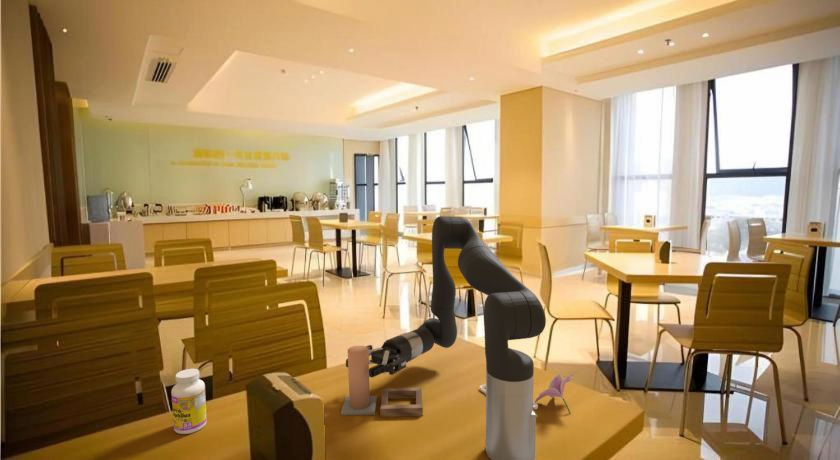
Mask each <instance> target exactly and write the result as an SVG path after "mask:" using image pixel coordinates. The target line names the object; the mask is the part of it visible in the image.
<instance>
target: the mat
mask: <svg viewBox="0 0 840 460" xmlns="http://www.w3.org/2000/svg"><path fill="white" fill-rule="evenodd" d="M377 401H378V395H370V405H369V406H368V407H366V408H363V409H353V408H351V407H350V402H349V395H348V396H347V395H346V396H345V398H344V401H343V405H342V407H341V411H340V416H364V415H365V416H369V415H375V414H376V409H377Z"/></svg>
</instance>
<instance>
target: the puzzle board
mask: <svg viewBox="0 0 840 460" xmlns="http://www.w3.org/2000/svg"><path fill="white" fill-rule="evenodd" d="M422 393H423V392H422V387H392V388H391V387H388V388H387V387H385V388H382V393H381V400H380V401H381V402H380V411H379V412H380V414H379V415H380V417H382V418H384V417H385V418H386V417H387V418H388V417H422V416H424V415H423V414H424V410H423V409H424V407H423V394H422ZM389 399H415V404H389Z"/></svg>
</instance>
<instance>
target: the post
mask: <svg viewBox="0 0 840 460" xmlns="http://www.w3.org/2000/svg"><path fill="white" fill-rule="evenodd" d="M366 346H367V345H366ZM366 346H365V345H353V346H350V347H349V348H347V359H348V367H347V368H348V369H347V372H348V375H347V376H348V396H349V402H350V407H351V408H353V409H363V408H366V407H368V406H369V405H370V396H371V395H370V377H369V369H370V366H369V365H370V364H369V360H370V359H369V358H370V357H369V358H368V347H366Z"/></svg>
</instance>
